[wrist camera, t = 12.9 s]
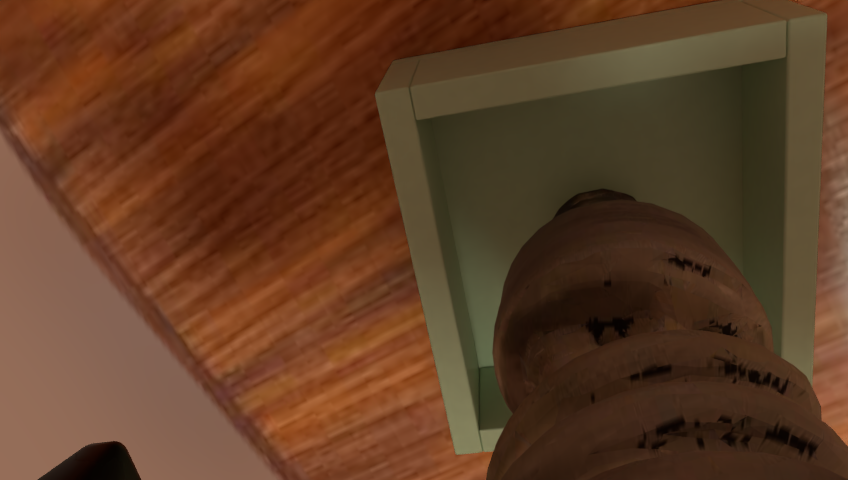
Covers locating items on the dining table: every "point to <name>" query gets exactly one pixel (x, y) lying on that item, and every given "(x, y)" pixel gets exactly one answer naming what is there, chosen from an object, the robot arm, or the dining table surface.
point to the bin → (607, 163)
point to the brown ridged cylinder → (645, 358)
